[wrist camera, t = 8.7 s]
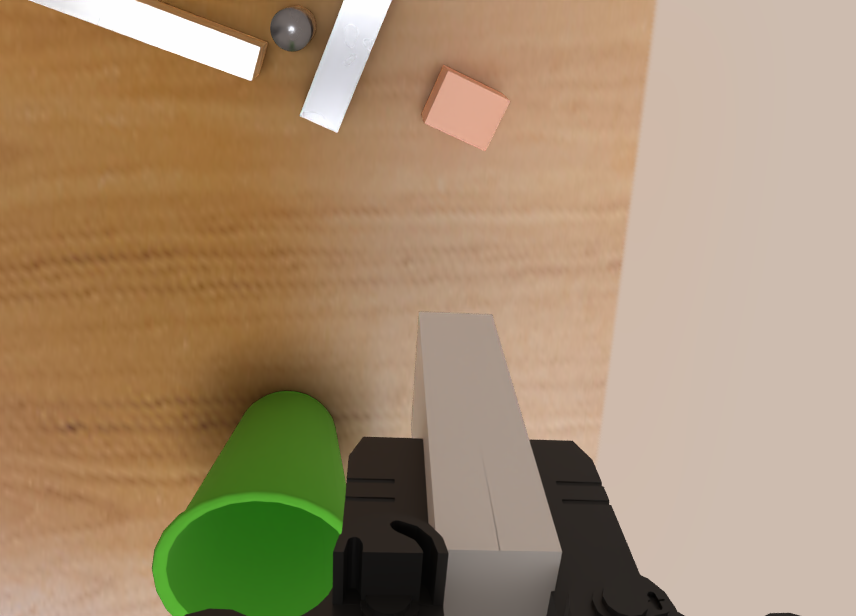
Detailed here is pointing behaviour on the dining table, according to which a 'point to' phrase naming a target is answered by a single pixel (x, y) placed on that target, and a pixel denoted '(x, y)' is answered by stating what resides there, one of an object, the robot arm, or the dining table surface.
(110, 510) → the dining table surface
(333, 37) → the tongs base
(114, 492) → the dining table surface
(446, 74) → the tab
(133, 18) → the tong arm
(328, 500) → the cup
